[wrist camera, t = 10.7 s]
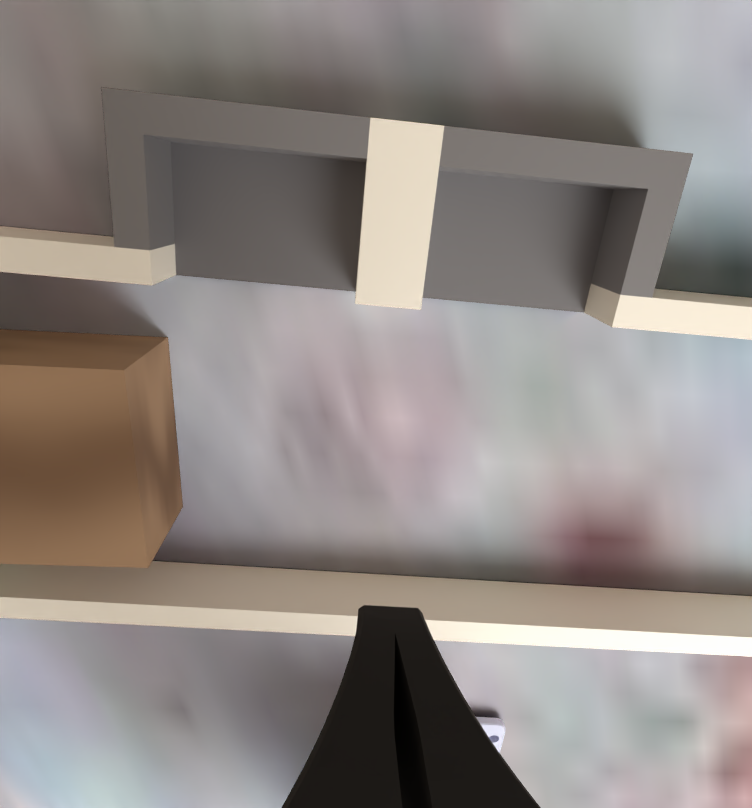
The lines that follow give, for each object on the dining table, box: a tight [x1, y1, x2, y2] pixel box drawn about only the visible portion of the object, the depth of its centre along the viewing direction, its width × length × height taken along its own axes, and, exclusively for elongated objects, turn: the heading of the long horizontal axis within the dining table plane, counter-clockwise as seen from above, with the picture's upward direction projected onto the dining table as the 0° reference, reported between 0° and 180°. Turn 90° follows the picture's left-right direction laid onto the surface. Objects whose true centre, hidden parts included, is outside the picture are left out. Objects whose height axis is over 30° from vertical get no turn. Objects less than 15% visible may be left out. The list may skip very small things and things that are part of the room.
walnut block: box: [0, 329, 183, 568], centre depth 18 cm, size 7×7×4 cm
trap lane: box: [0, 87, 752, 657], centre depth 18 cm, size 18×35×4 cm, turn 84°
